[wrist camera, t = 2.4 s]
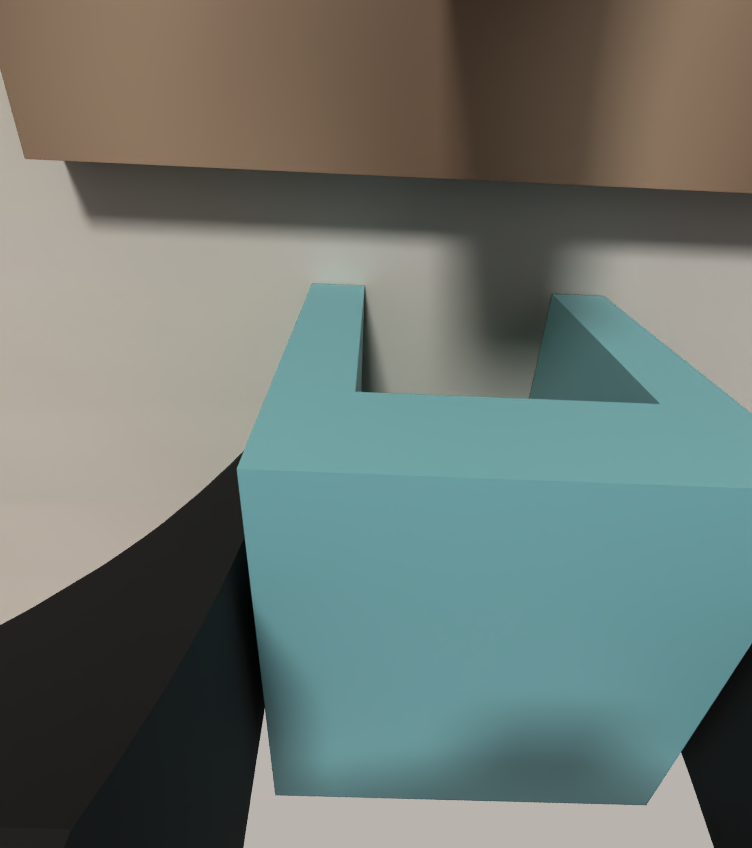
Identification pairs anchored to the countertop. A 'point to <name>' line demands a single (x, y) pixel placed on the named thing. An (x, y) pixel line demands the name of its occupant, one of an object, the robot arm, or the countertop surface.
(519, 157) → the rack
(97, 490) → the countertop surface
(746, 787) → the robot arm
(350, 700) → the teal notched block
